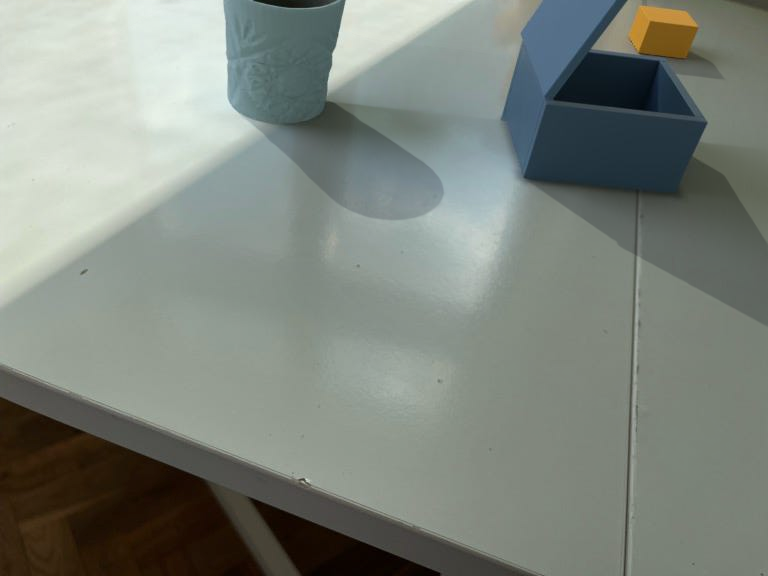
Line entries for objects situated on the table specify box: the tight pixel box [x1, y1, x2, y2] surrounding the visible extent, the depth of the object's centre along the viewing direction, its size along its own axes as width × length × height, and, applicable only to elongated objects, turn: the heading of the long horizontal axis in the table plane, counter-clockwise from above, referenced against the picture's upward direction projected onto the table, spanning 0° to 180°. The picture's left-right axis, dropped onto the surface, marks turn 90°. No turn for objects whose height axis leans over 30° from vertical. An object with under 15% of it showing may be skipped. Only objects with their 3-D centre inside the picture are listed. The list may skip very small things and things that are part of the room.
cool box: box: [500, 40, 709, 194], centre depth 70 cm, size 14×12×8 cm
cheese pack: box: [628, 5, 700, 60], centre depth 94 cm, size 6×4×4 cm
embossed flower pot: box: [222, 0, 347, 125], centre depth 67 cm, size 10×10×12 cm
